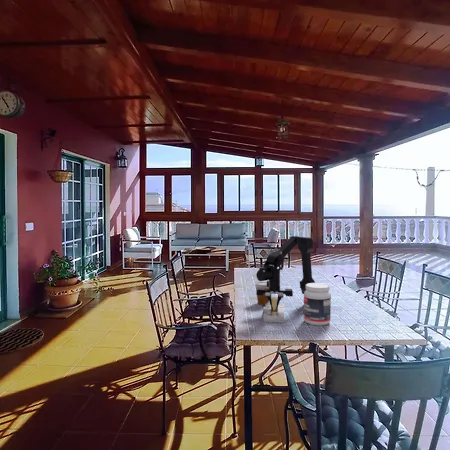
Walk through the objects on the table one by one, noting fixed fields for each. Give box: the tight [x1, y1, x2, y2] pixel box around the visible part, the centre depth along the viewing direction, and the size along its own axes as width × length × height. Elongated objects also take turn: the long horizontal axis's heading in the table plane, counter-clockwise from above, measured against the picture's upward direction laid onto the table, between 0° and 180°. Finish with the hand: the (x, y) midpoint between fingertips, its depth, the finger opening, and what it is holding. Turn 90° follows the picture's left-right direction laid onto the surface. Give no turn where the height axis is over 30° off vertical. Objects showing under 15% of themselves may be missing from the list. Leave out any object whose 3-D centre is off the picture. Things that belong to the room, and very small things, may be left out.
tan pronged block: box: [271, 296, 278, 312], centre depth 187 cm, size 2×7×7 cm, turn 171°
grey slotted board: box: [263, 302, 285, 324], centre depth 187 cm, size 10×24×3 cm, turn 171°
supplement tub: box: [303, 282, 332, 327], centre depth 175 cm, size 13×13×18 cm
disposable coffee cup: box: [254, 281, 270, 306], centre depth 209 cm, size 10×10×12 cm
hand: (274, 308), depth 187 cm, fingers closed on tan pronged block, 2 cm apart
